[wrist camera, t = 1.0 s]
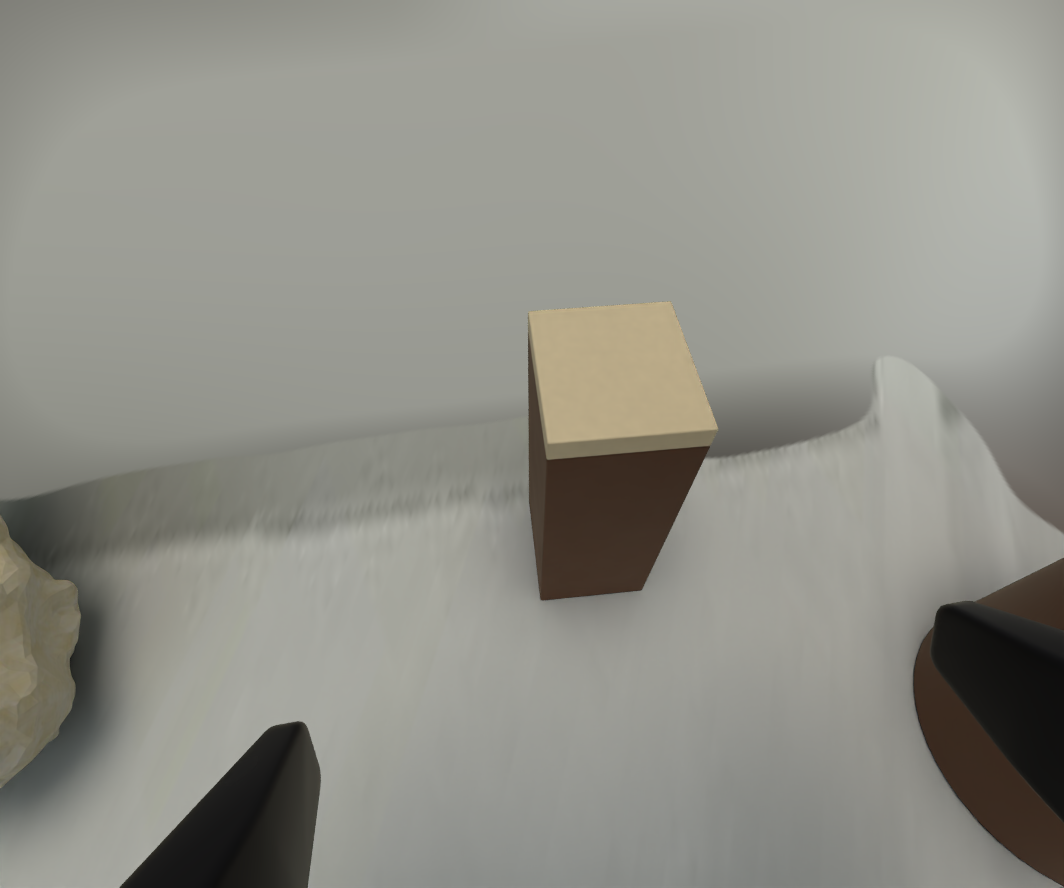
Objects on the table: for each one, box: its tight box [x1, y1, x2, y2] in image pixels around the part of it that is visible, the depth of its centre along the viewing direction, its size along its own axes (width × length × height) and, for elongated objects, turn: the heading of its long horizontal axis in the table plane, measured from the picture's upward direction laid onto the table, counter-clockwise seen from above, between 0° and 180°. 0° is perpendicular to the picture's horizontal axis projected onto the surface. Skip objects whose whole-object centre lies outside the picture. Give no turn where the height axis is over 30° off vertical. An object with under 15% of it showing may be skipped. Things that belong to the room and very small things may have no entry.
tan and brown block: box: [528, 301, 718, 600], centre depth 20 cm, size 5×4×12 cm
